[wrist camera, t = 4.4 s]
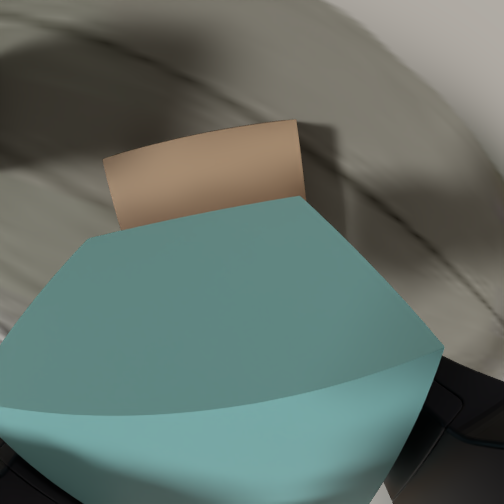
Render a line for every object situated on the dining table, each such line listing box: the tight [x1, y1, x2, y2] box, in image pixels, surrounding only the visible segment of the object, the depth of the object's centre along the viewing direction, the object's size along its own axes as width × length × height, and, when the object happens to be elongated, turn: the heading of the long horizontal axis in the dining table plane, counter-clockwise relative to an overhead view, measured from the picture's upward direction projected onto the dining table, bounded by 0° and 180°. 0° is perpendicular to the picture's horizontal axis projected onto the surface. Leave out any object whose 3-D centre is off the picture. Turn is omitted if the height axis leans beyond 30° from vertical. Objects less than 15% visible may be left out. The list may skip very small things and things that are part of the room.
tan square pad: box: [102, 119, 306, 231], centre depth 17 cm, size 10×10×3 cm
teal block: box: [0, 196, 444, 504], centre depth 6 cm, size 6×6×6 cm
